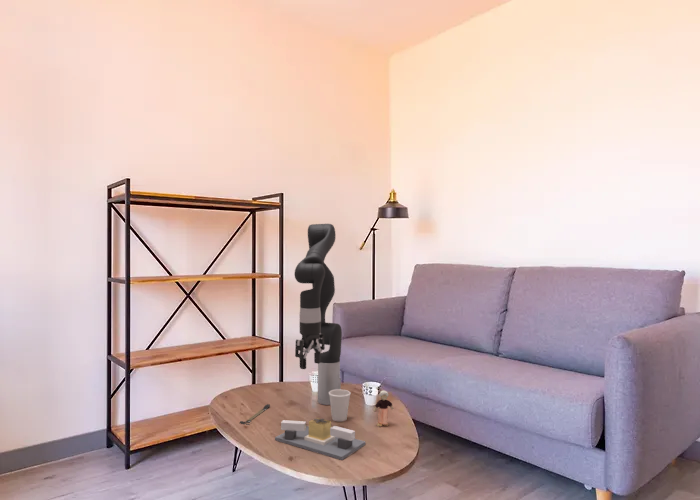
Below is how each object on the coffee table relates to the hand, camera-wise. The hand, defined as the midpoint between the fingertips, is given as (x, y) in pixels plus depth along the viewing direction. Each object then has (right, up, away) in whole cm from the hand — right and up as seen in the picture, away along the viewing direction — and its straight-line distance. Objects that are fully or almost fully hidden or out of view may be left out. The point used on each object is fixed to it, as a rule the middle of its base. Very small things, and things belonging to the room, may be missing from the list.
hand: (310, 365), depth 166 cm
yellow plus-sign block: (+4, -21, -9) cm, 23 cm away
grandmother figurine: (+26, -24, +7) cm, 36 cm away
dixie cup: (+10, -24, +13) cm, 29 cm away
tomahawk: (-21, -24, +16) cm, 35 cm away
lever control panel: (+4, -23, -9) cm, 25 cm away
